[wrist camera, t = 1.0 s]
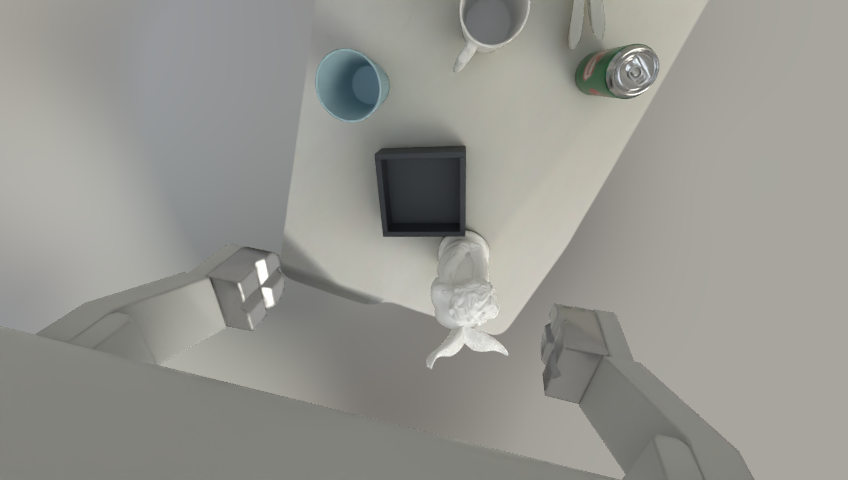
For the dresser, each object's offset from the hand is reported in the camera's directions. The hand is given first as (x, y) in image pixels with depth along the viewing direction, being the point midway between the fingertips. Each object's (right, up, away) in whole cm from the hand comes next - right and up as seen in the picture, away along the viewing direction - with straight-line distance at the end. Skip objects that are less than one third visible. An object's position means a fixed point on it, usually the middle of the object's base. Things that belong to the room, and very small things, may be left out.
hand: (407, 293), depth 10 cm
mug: (+8, +28, +35) cm, 45 cm away
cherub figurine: (+8, -2, +49) cm, 49 cm away
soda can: (+23, +23, +35) cm, 48 cm away
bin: (+1, +10, +44) cm, 45 cm away
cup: (-7, +23, +39) cm, 46 cm away
